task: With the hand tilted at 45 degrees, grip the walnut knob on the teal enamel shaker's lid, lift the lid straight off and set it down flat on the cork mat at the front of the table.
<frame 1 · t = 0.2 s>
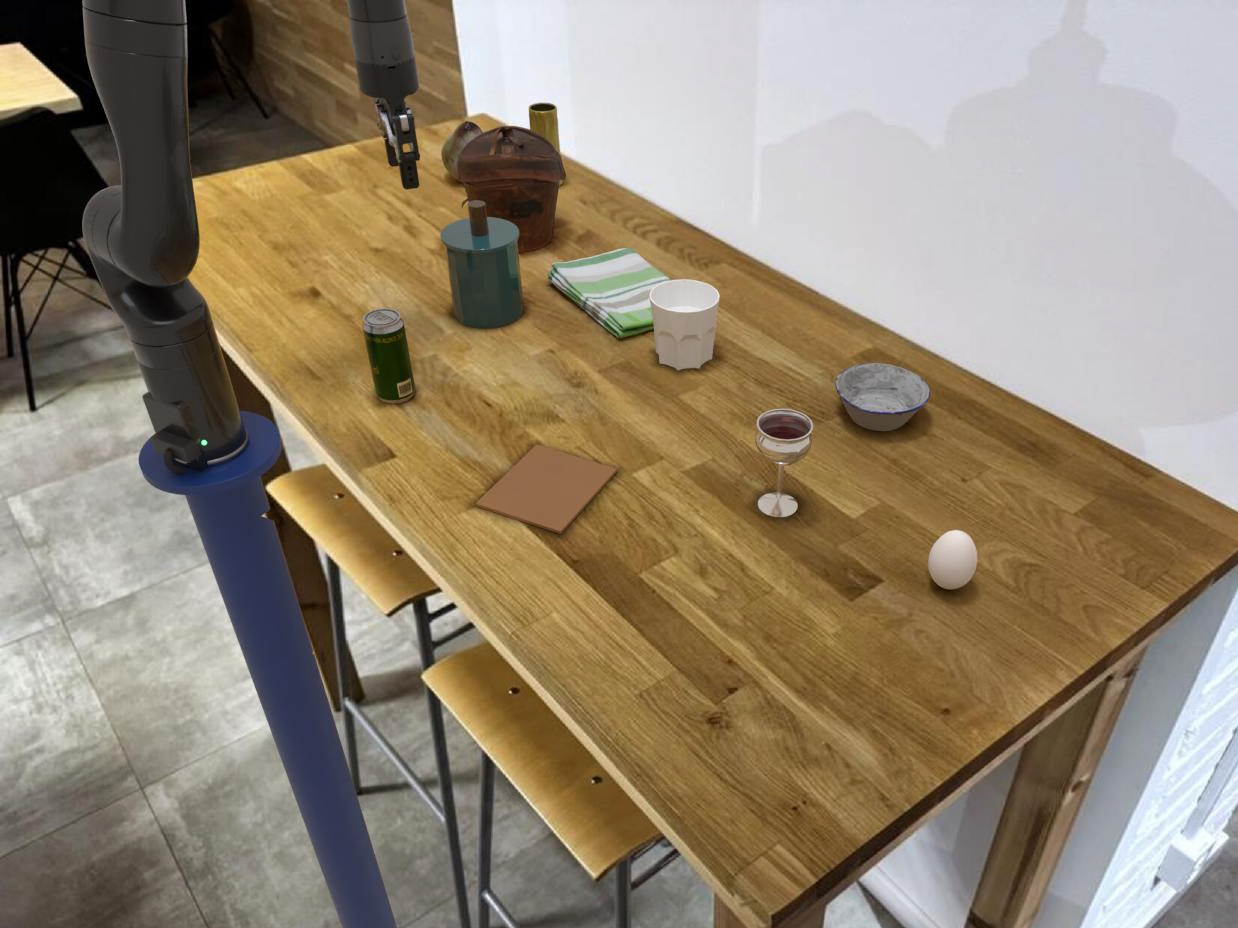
hand: (404, 176, 148), 24 cm above the table, tool pointing down, fingers open, 8 cm apart
case: (516, 238, 189), on the table
bowl: (877, 416, 150), on the table
fruit: (469, 180, 209), on the table
shaker lid: (480, 236, 160), point 12 cm above the table, touching shaker
wineglass: (777, 505, 133), on the table
beer can: (396, 395, 150), on the table
egg: (946, 586, 123), on the table
dish towel: (626, 299, 173), on the table
mat: (548, 488, 134), on the table
vase: (548, 183, 209), on the table
shaker: (489, 311, 168), on the table
cup: (683, 357, 160), on the table
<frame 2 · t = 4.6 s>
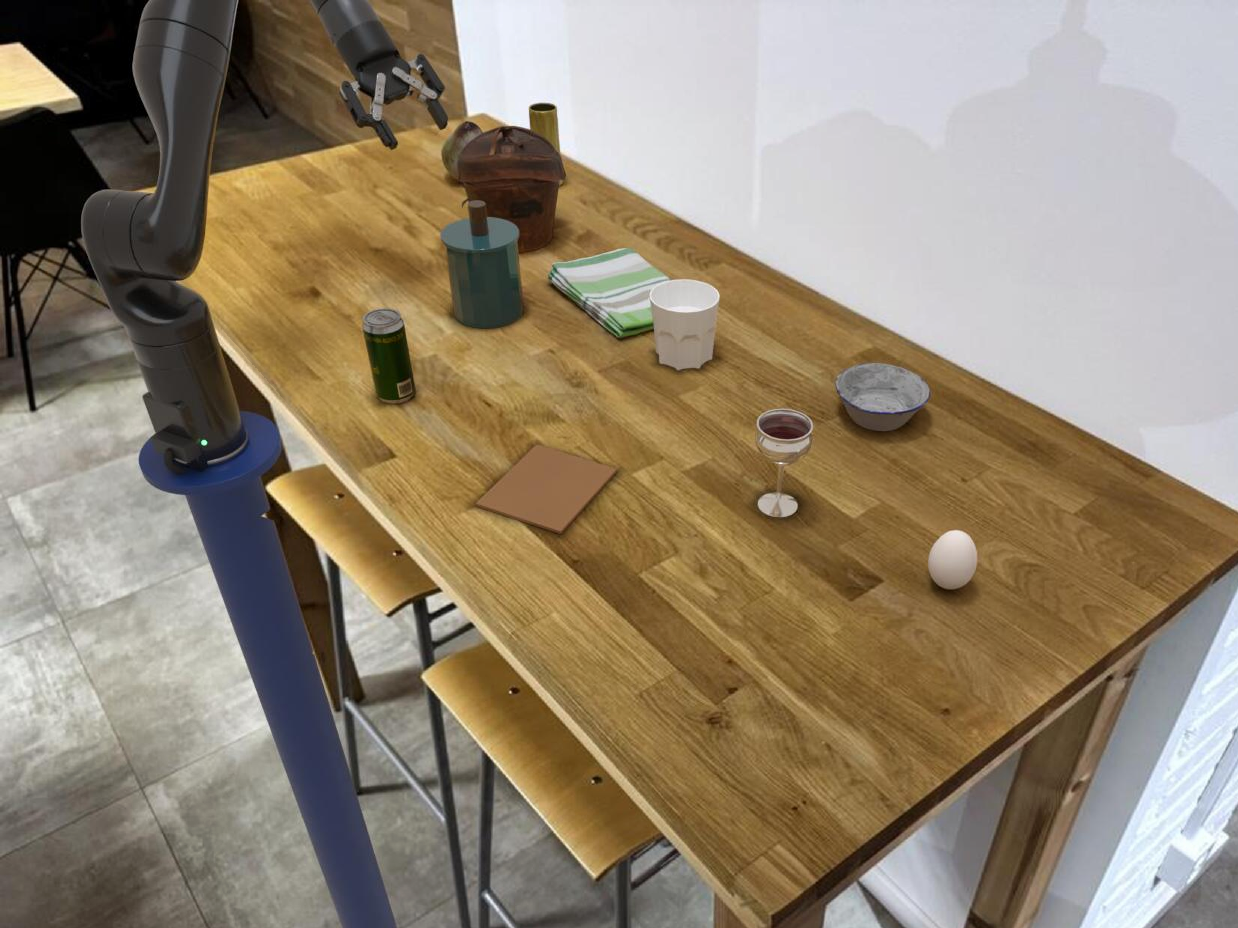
hand: (420, 136, 157), 25 cm above the table, tool tilted 40°, fingers open, 8 cm apart
nothing on the table moved.
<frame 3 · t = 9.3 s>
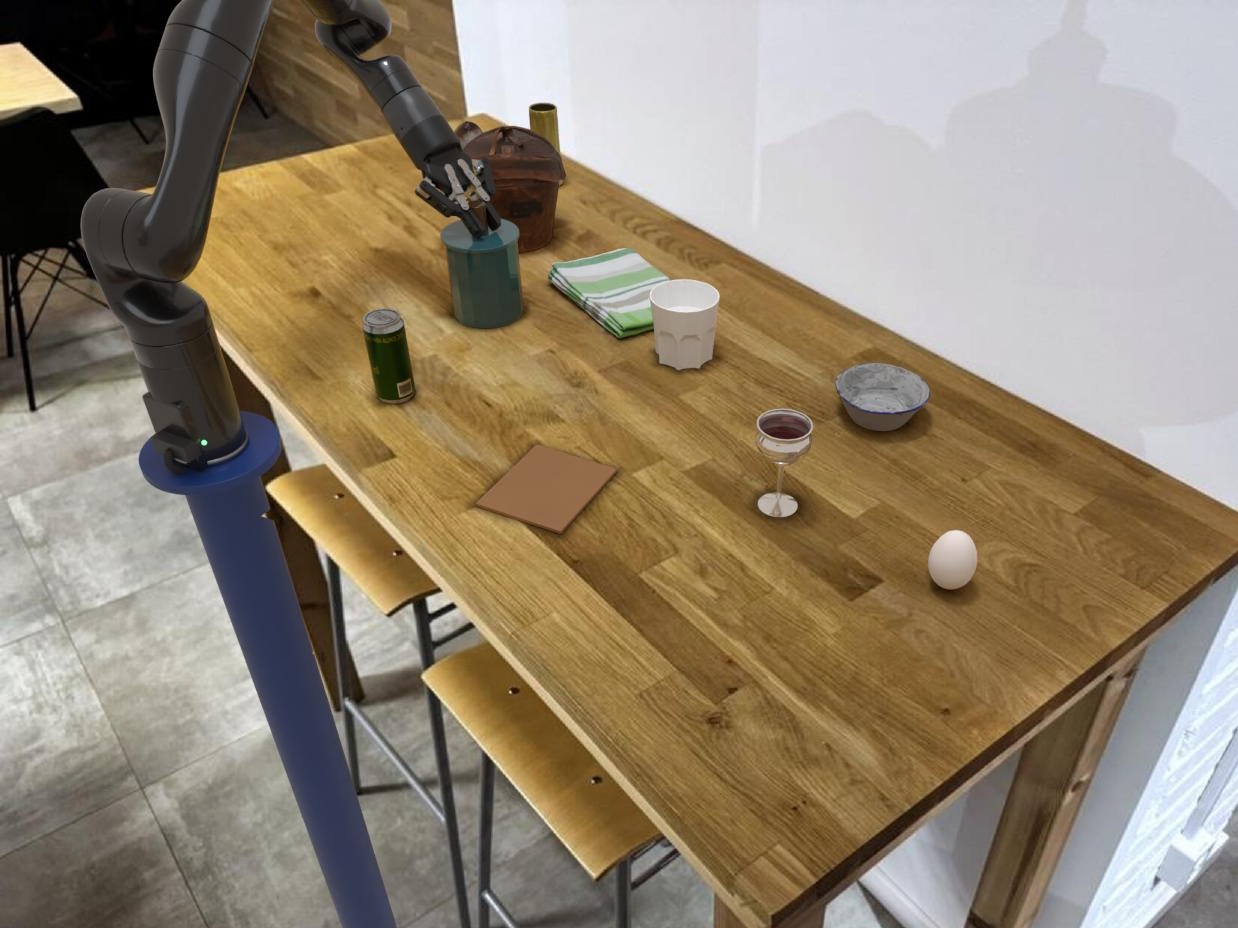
hand: (489, 231, 159), 14 cm above the table, tool tilted 45°, fingers closed on shaker lid, 2 cm apart
shaker lid: (480, 236, 160), point 13 cm above the table, touching gripper, shaker
everything else where it was.
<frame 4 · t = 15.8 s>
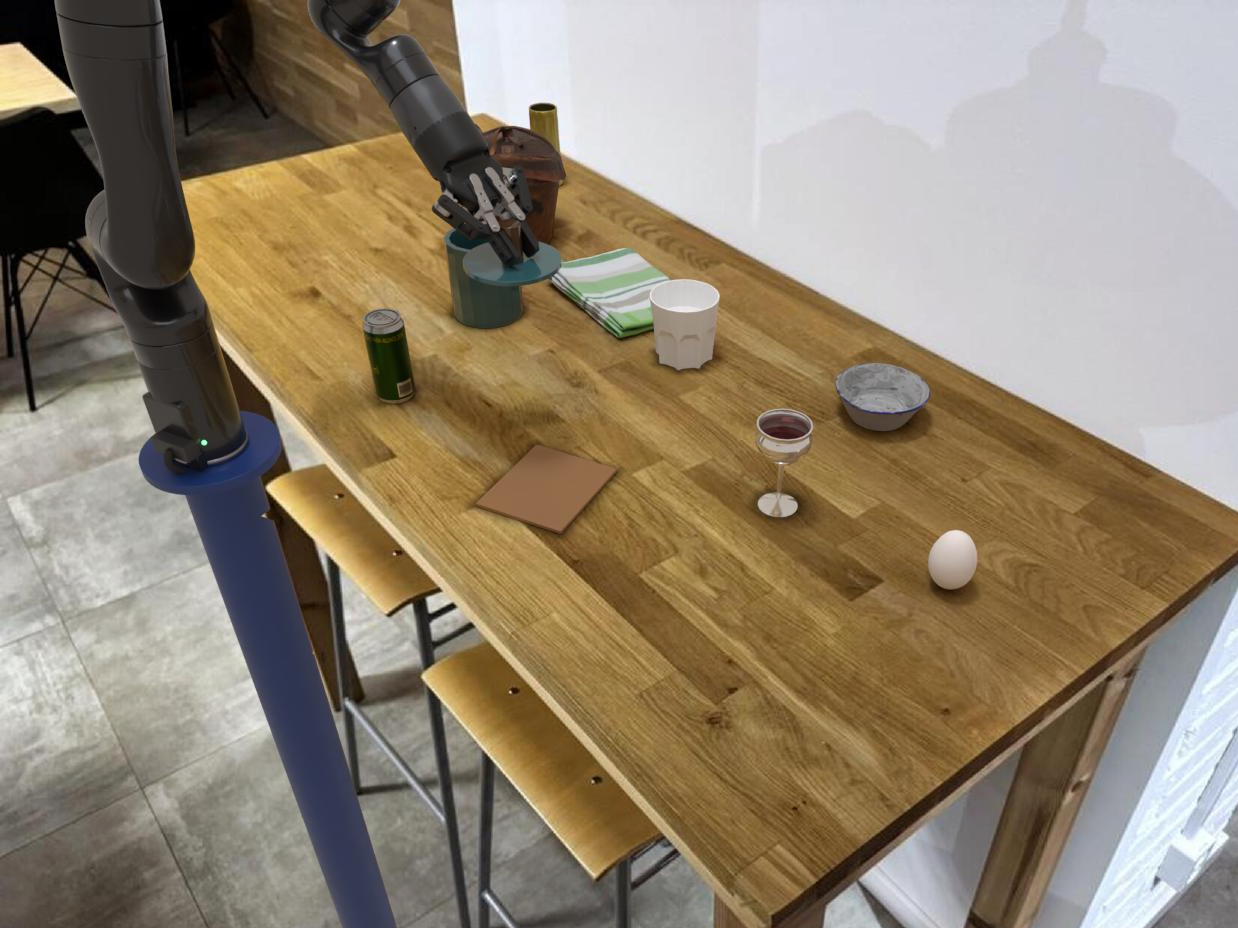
hand: (524, 257, 126), 26 cm above the table, tool tilted 45°, fingers closed on shaker lid, 2 cm apart
shaker lid: (512, 264, 128), point 24 cm above the table, touching gripper
everything else where it was.
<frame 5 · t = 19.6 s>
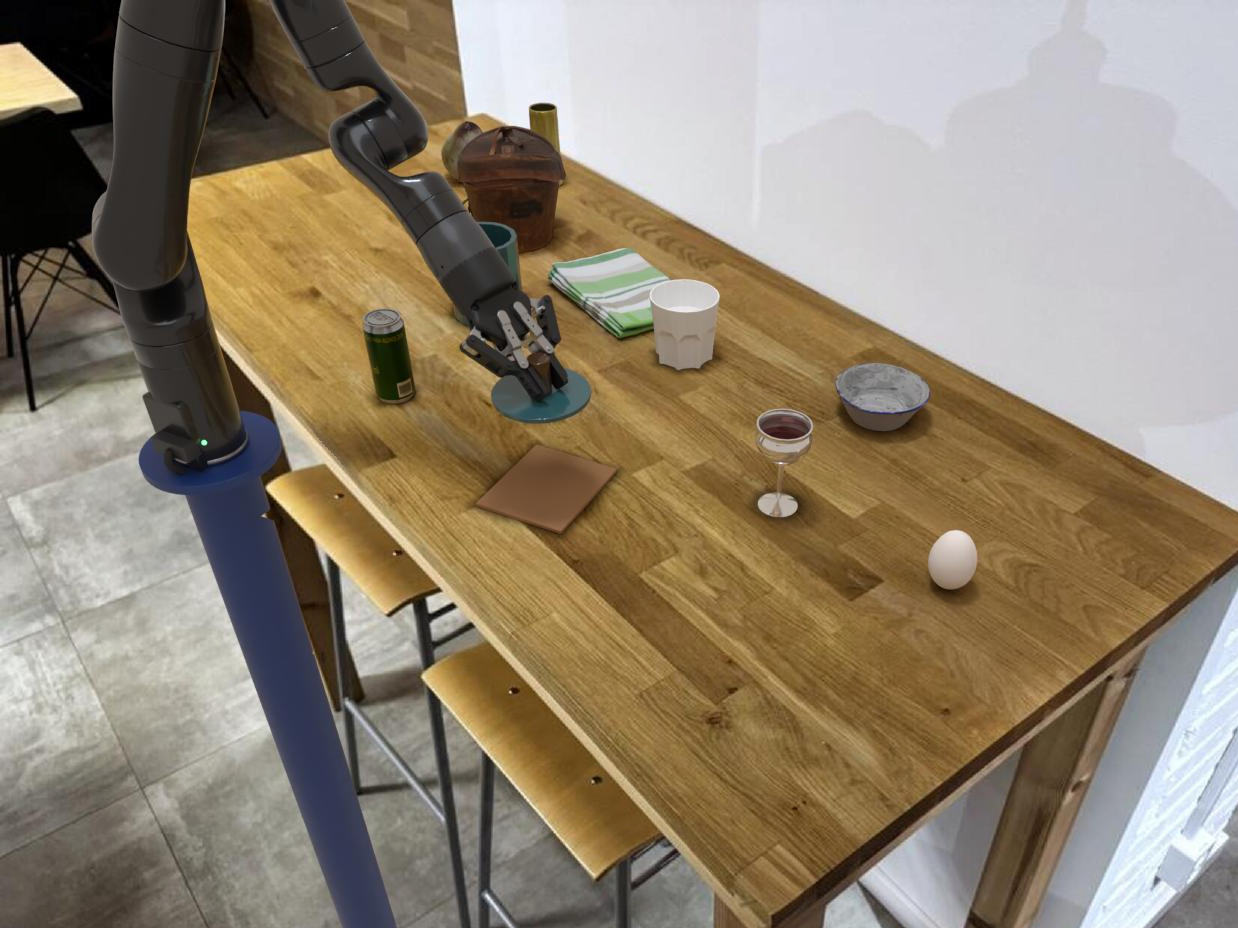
hand: (553, 391, 124), 15 cm above the table, tool tilted 45°, fingers closed on shaker lid, 2 cm apart
shaker lid: (541, 395, 126), point 14 cm above the table, touching gripper
everything else where it was.
when the fingers open (3 cm above the table, at t = 22.7 s): shaker lid stays where it is, resting on mat.
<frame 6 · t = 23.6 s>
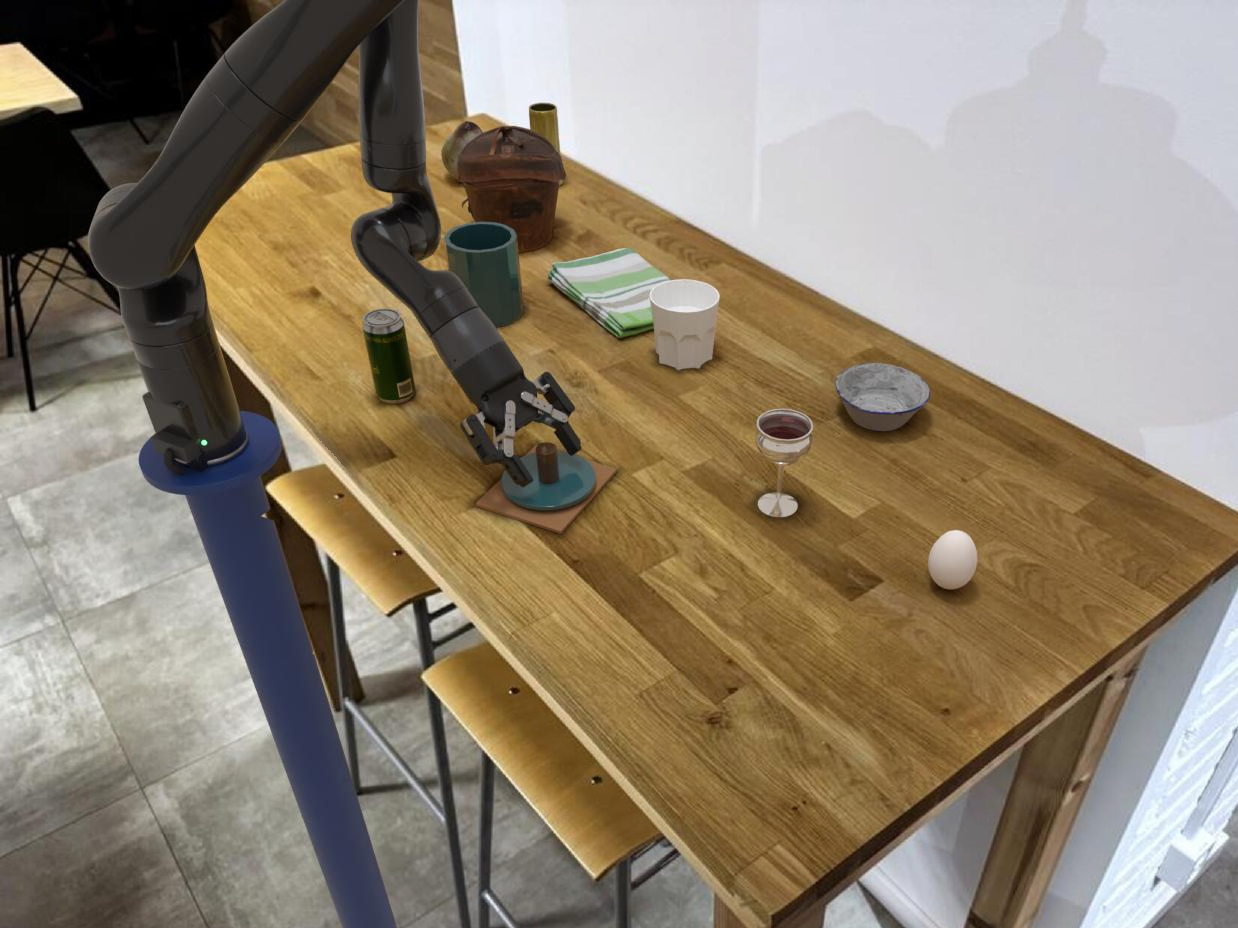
hand: (552, 468, 131), 4 cm above the table, tool tilted 45°, fingers open, 8 cm apart
shaker lid: (549, 481, 134), point 1 cm above the table, touching mat
everything else where it was.
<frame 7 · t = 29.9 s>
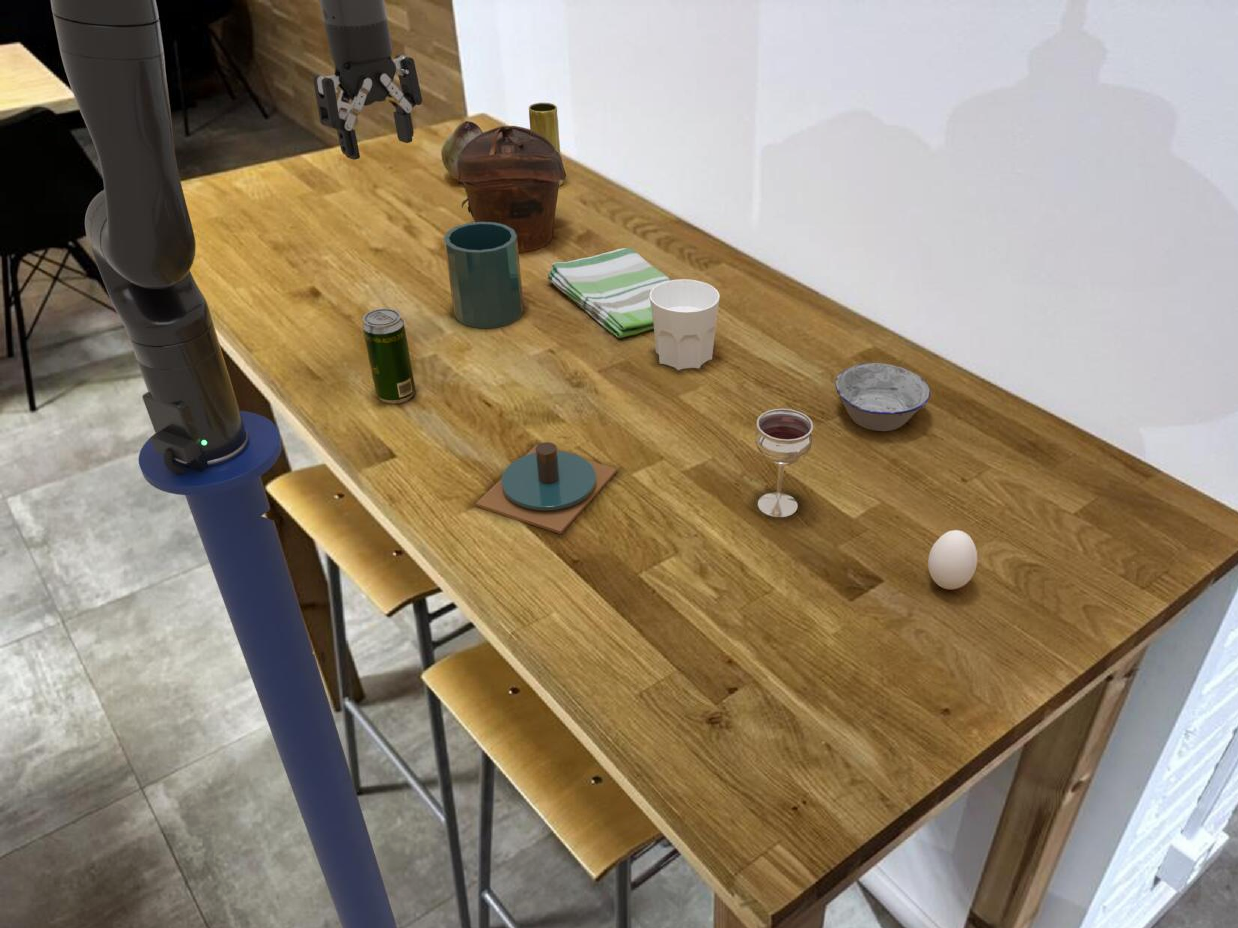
hand: (380, 149, 141), 29 cm above the table, tool pointing down, fingers open, 8 cm apart
nothing on the table moved.
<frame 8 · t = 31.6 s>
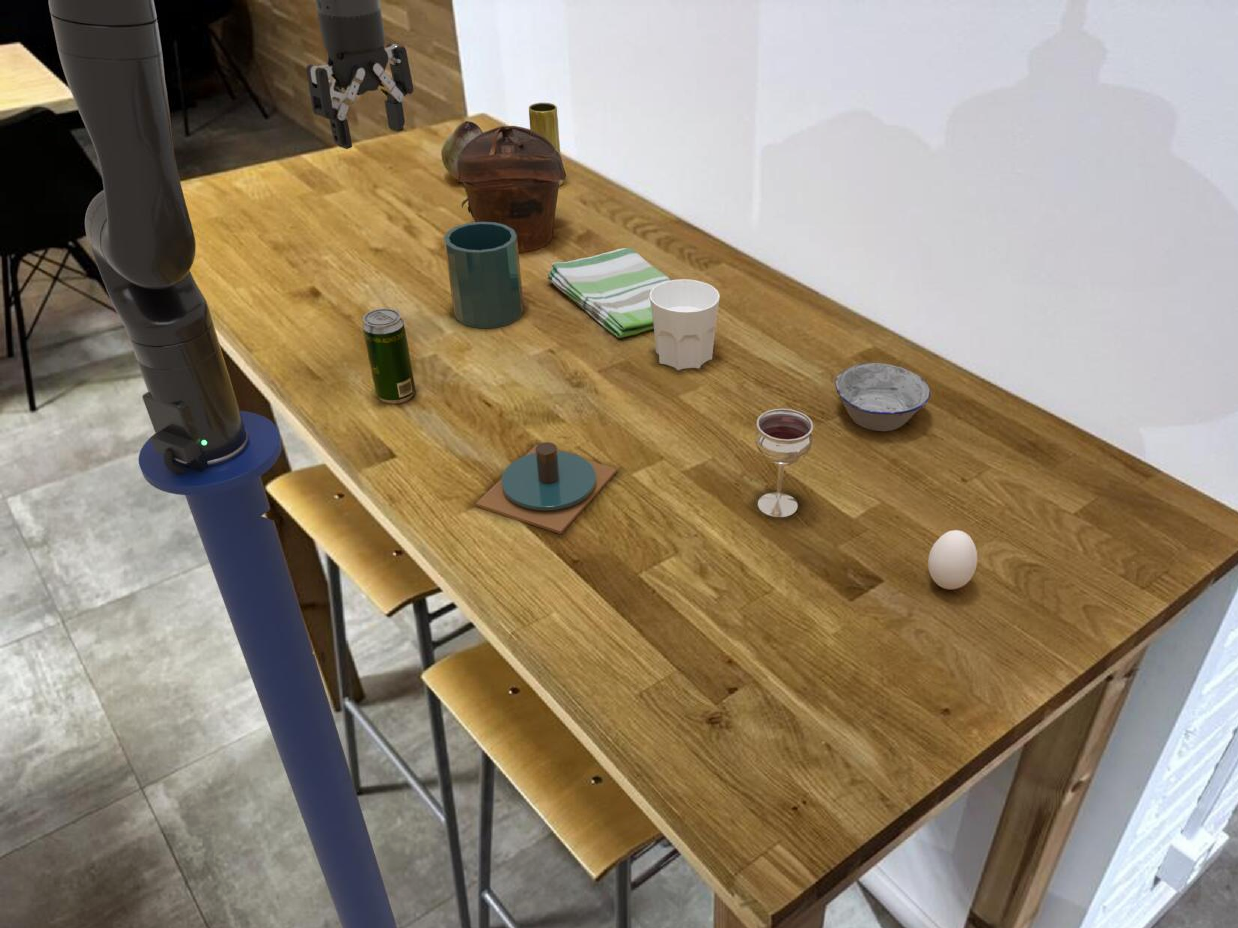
hand: (371, 138, 142), 30 cm above the table, tool pointing down, fingers open, 8 cm apart
nothing on the table moved.
at the end: shaker lid inside the target area on the mat (0.1 cm from its centre), point 1.1 cm above the mat's base; shaker lid tilted 0°; the gripper is holding nothing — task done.
